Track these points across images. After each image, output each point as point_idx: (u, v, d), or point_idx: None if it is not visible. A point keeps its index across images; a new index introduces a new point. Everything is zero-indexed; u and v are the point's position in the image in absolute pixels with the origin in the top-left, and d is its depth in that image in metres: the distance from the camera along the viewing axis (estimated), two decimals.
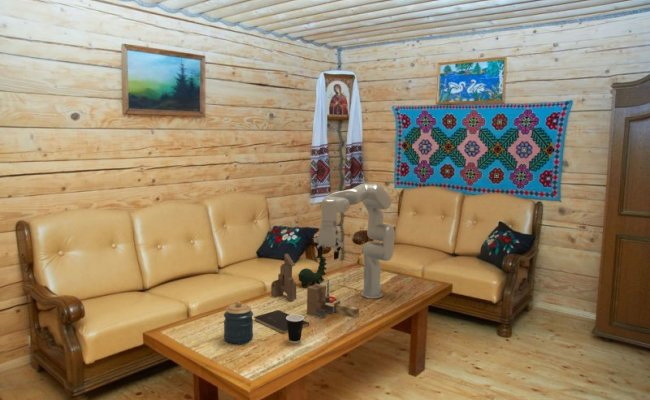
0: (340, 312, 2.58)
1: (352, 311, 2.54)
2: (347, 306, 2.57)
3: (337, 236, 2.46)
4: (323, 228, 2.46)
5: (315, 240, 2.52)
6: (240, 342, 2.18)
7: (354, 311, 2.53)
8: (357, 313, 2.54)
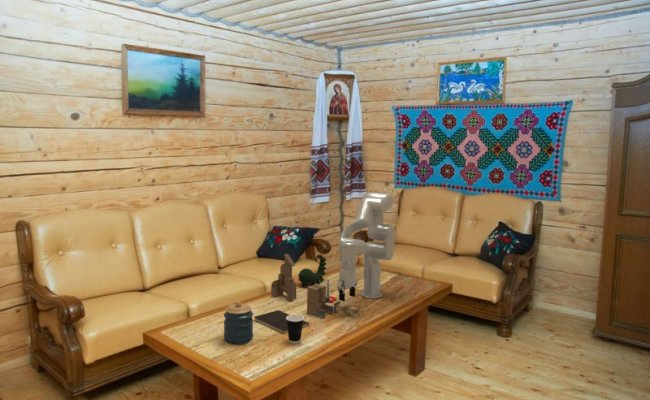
0: (340, 312, 2.58)
1: (352, 311, 2.54)
2: (347, 306, 2.57)
3: None
4: (350, 271, 2.52)
5: (340, 286, 2.49)
6: (240, 342, 2.18)
7: (354, 311, 2.53)
8: (357, 313, 2.54)
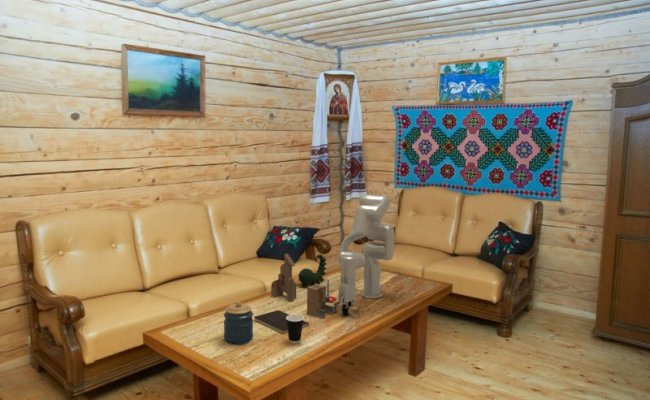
0: (340, 312, 2.58)
1: (352, 311, 2.54)
2: None
3: None
4: (350, 285, 2.53)
5: (342, 303, 2.52)
6: (240, 342, 2.18)
7: (354, 311, 2.53)
8: (357, 313, 2.54)
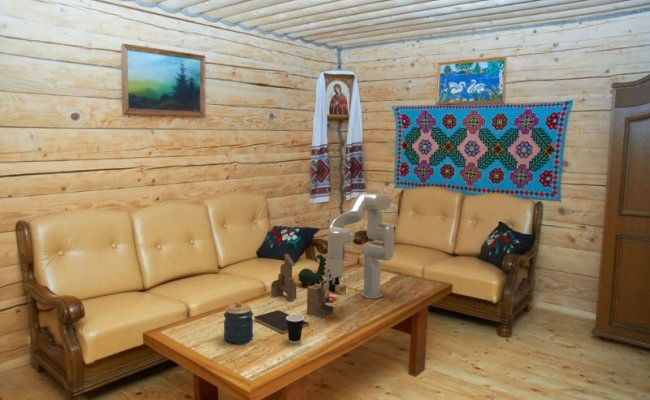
0: (327, 291, 2.52)
1: (339, 288, 2.47)
2: None
3: None
4: (337, 260, 2.47)
5: (329, 279, 2.46)
6: (240, 342, 2.18)
7: (341, 288, 2.47)
8: (344, 291, 2.48)
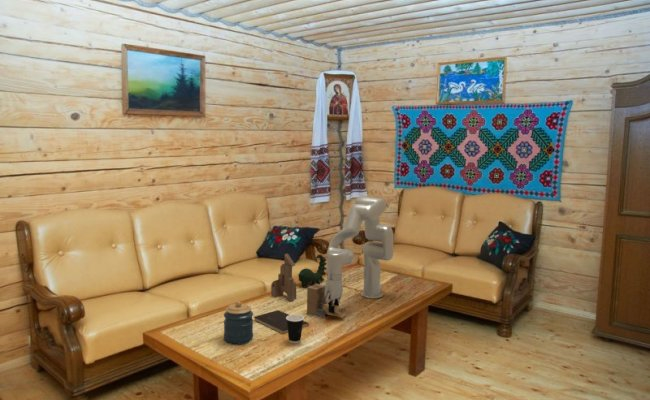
0: (327, 312, 2.53)
1: (339, 310, 2.49)
2: None
3: None
4: (336, 282, 2.48)
5: (328, 300, 2.47)
6: (240, 342, 2.18)
7: (340, 310, 2.48)
8: (344, 312, 2.49)
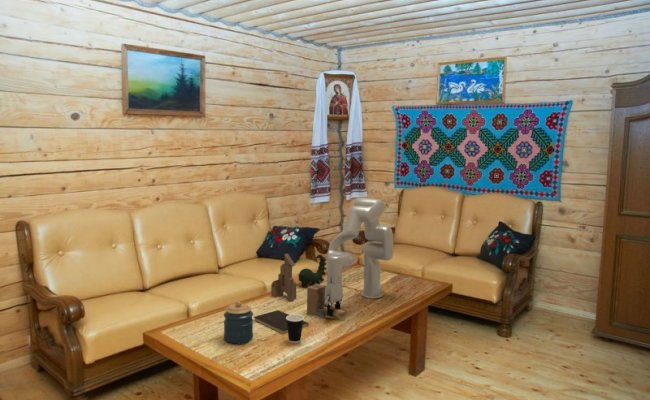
0: (327, 315, 2.53)
1: (339, 314, 2.49)
2: (334, 309, 2.52)
3: None
4: (336, 285, 2.48)
5: (327, 303, 2.46)
6: (240, 342, 2.18)
7: (341, 314, 2.48)
8: (344, 316, 2.50)
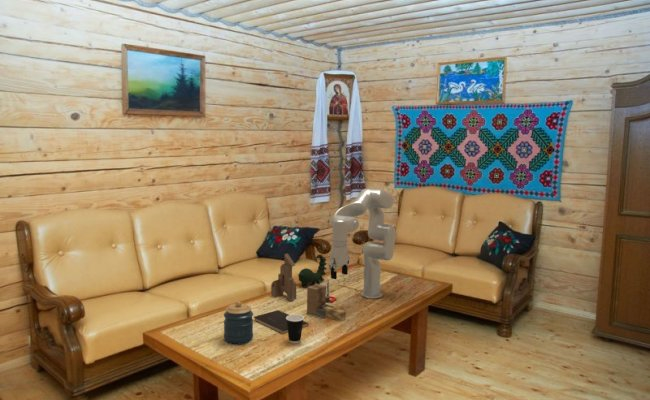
0: (327, 315, 2.53)
1: (339, 314, 2.49)
2: (334, 309, 2.52)
3: None
4: (342, 249, 2.47)
5: (331, 265, 2.45)
6: (240, 342, 2.18)
7: (341, 314, 2.48)
8: (344, 316, 2.50)
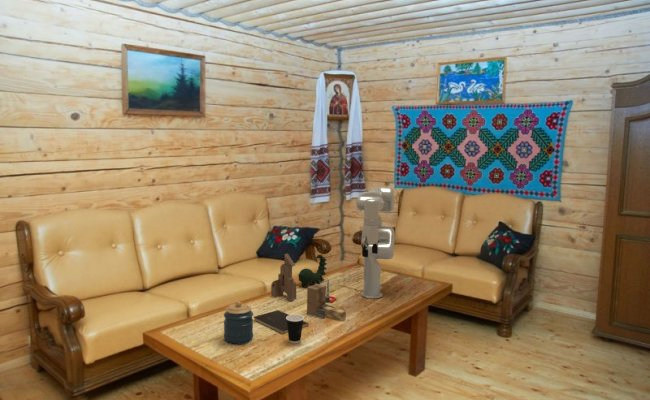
0: (327, 315, 2.53)
1: (339, 314, 2.49)
2: (334, 309, 2.52)
3: None
4: (373, 227, 2.55)
5: (363, 243, 2.52)
6: (240, 342, 2.18)
7: (341, 314, 2.48)
8: (344, 316, 2.50)
